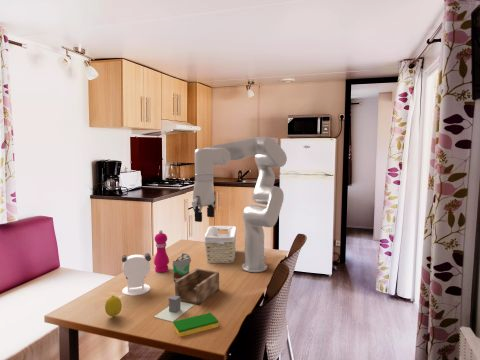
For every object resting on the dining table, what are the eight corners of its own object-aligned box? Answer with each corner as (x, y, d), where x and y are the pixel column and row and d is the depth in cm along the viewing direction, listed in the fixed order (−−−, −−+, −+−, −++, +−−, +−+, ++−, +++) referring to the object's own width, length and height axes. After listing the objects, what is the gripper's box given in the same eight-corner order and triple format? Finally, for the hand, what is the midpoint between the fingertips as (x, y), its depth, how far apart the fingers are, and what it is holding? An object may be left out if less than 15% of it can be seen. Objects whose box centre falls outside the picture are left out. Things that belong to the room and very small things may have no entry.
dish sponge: (218, 327, 118) (218, 321, 118) (179, 338, 112) (179, 330, 112) (210, 318, 124) (210, 312, 124) (172, 328, 118) (172, 321, 118)
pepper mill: (171, 268, 173) (171, 229, 171) (164, 273, 167) (163, 232, 164) (159, 266, 176) (158, 227, 174) (151, 271, 169) (150, 231, 167)
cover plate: (176, 302, 137) (176, 288, 137) (194, 306, 134) (194, 292, 133) (154, 318, 125) (153, 303, 124) (172, 323, 121) (172, 307, 121)
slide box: (197, 285, 153) (196, 268, 152) (219, 289, 148) (219, 272, 148) (175, 299, 139) (175, 281, 138) (199, 305, 134) (198, 286, 133)
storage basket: (235, 264, 179) (234, 236, 178) (203, 264, 180) (203, 236, 179) (236, 250, 203) (236, 225, 202) (209, 250, 204) (208, 225, 202)
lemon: (108, 313, 127) (107, 292, 126) (123, 313, 128) (122, 292, 127) (103, 321, 122) (102, 299, 121) (119, 320, 122) (118, 298, 121)
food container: (185, 284, 154) (185, 262, 153) (172, 283, 155) (172, 261, 154) (195, 274, 166) (194, 253, 165) (182, 273, 167) (182, 252, 166)
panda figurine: (150, 282, 156) (149, 250, 154) (152, 293, 145) (151, 257, 143) (122, 286, 152) (120, 252, 150) (122, 297, 141) (120, 261, 140)
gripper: (207, 176, 153) (207, 214, 155) (184, 180, 138) (185, 222, 140) (222, 176, 150) (222, 216, 152) (200, 180, 135) (201, 224, 136)
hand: (204, 219), depth 146 cm, fingers open, 9 cm apart
